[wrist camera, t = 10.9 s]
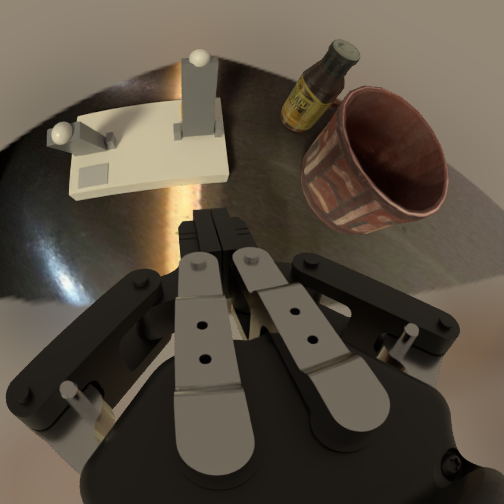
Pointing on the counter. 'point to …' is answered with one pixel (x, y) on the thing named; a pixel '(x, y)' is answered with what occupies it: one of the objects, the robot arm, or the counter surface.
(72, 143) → the grey marked lever
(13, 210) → the counter surface
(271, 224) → the counter surface
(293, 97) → the sauce bottle
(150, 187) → the switch unit
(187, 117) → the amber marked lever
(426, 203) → the pottery
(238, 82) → the counter surface
